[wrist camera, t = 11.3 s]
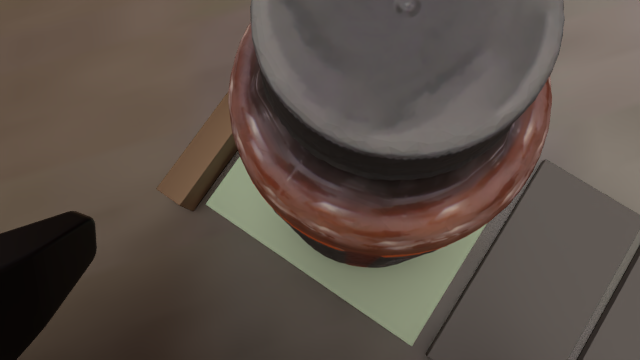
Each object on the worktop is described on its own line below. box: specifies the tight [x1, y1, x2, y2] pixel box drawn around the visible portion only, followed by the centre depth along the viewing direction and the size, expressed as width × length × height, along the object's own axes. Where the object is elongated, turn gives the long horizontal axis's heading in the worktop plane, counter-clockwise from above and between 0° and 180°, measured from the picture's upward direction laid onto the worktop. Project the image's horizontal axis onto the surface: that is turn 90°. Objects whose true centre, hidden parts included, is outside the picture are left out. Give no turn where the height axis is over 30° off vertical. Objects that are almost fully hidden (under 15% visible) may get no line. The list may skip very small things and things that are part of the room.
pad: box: [206, 157, 486, 346], centre depth 17 cm, size 9×8×1 cm
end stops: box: [156, 91, 238, 211], centre depth 15 cm, size 28×9×2 cm, turn 56°
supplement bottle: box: [228, 0, 564, 268], centre depth 11 cm, size 6×6×11 cm
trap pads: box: [426, 160, 640, 360], centre depth 16 cm, size 8×8×1 cm
